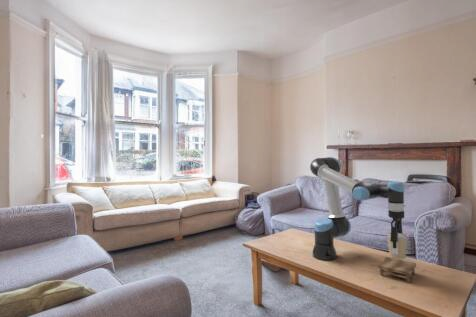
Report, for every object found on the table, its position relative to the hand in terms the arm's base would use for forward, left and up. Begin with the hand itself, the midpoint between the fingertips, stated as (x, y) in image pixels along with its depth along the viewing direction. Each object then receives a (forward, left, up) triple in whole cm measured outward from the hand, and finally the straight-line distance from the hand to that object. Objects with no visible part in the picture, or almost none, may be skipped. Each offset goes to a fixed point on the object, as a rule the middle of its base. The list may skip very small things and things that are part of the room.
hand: (397, 251), depth 146 cm
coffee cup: (0, 0, -3) cm, 3 cm away
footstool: (0, 0, -13) cm, 13 cm away
